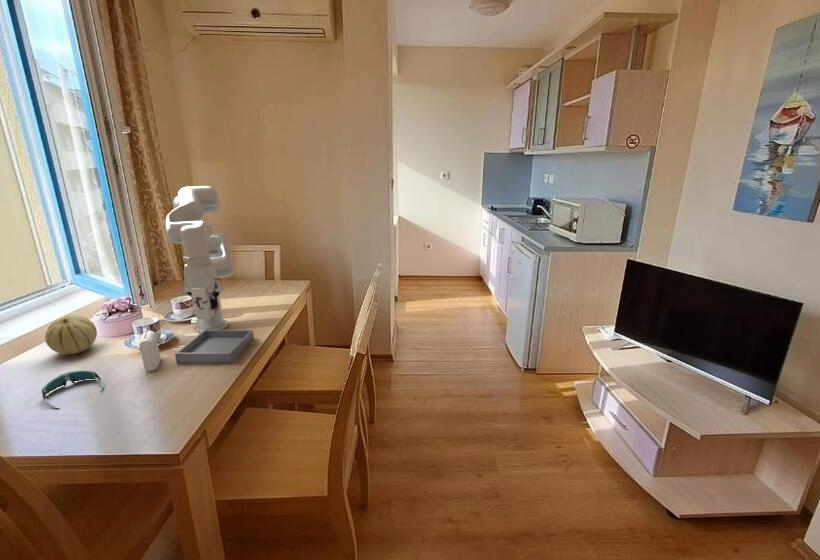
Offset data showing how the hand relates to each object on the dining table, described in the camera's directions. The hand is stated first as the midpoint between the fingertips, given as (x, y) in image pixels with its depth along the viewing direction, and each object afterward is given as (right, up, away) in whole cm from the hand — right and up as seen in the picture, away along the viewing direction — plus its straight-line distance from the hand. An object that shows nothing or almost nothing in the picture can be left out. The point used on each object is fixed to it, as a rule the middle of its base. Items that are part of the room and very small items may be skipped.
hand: (206, 307), depth 140 cm
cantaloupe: (-54, -18, +7) cm, 57 cm away
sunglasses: (-32, -26, -18) cm, 45 cm away
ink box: (0, -3, +1) cm, 3 cm away
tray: (0, -17, +8) cm, 19 cm away
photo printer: (-18, -21, -2) cm, 28 cm away
